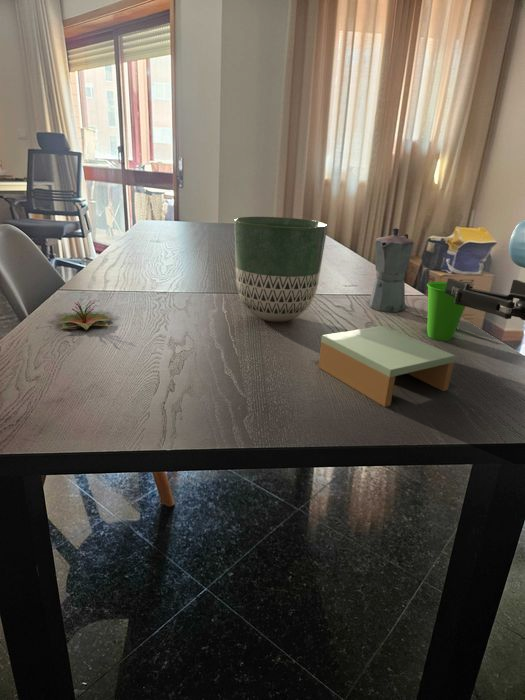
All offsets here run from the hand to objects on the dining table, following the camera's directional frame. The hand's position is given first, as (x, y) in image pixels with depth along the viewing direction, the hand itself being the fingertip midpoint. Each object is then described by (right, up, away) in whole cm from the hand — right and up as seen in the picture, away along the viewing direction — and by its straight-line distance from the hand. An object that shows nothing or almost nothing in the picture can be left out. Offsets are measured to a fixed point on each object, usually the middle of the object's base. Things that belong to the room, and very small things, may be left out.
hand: (480, 286), depth 87 cm
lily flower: (-77, -7, +9) cm, 78 cm away
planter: (-38, -5, +19) cm, 43 cm away
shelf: (-21, -17, -9) cm, 28 cm away
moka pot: (-9, -1, +34) cm, 35 cm away
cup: (-3, -9, +14) cm, 17 cm away
